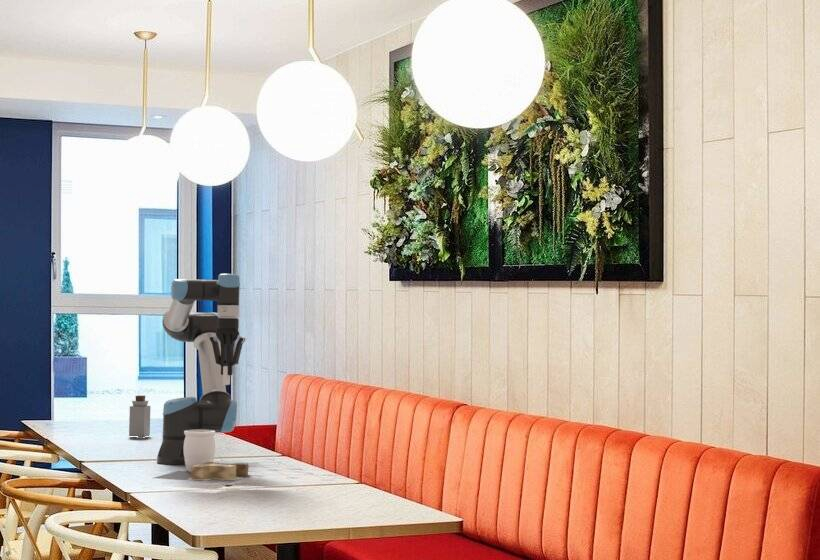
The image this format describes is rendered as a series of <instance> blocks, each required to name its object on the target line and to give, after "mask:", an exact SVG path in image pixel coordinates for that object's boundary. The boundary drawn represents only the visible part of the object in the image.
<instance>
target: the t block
mask: <svg viewBox="0 0 820 560" xmlns="http://www.w3.org/2000/svg"><path fill="white" fill-rule="evenodd" d="M190 472H191V479H201V480H203V479H206V478H218V479H233V478H236V465H234V464H223V463H221V464H220V462H218V461H217V462H215V461H213V462H206V463H202V464H198V465H194V466H191V471H190Z"/></svg>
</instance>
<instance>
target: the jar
mask: <svg viewBox="0 0 820 560" xmlns="http://www.w3.org/2000/svg"><path fill="white" fill-rule="evenodd" d="M184 434H185V435H186V437H185V440H184V458H185V464H184V466H185V467H186V469H187V471H190V472H191V466H194V465H198V464H202V463H206V462H214V459H215V454H216V442H215V441H216V440H215V436H214V435H215V434H216V433H215V431H214V430H205V429H195V430H185V431H184Z"/></svg>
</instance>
